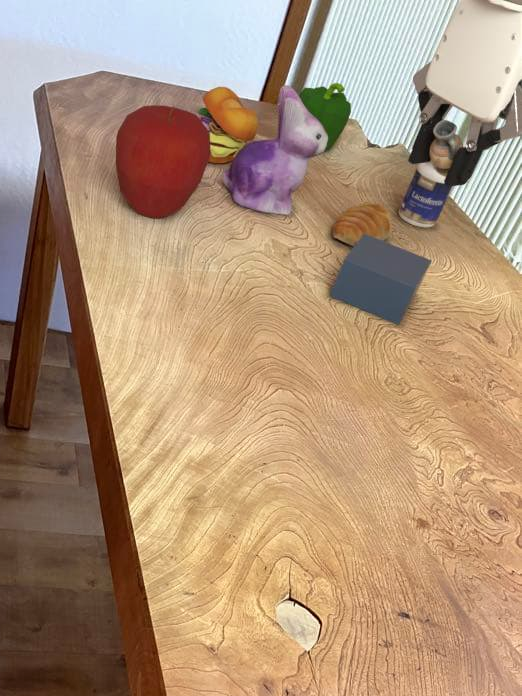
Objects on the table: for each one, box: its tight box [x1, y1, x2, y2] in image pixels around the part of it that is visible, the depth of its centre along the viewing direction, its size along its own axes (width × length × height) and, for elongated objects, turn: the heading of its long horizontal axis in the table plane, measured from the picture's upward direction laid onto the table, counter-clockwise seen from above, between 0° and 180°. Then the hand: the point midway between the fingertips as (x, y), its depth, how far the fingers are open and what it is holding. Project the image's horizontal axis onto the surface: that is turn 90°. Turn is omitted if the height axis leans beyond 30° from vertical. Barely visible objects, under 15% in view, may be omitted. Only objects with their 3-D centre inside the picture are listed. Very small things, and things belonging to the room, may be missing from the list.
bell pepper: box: [298, 82, 352, 152], centre depth 141 cm, size 8×8×10 cm
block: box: [329, 234, 433, 325], centre depth 110 cm, size 9×9×5 cm
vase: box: [430, 119, 470, 186], centre depth 96 cm, size 5×5×6 cm
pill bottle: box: [398, 161, 454, 229], centre depth 127 cm, size 6×6×10 cm
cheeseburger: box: [191, 86, 259, 164], centre depth 132 cm, size 10×11×10 cm
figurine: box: [221, 84, 328, 216], centre depth 120 cm, size 9×10×15 cm
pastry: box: [331, 201, 393, 247], centre depth 121 cm, size 9×7×4 cm
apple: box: [115, 104, 211, 219], centre depth 112 cm, size 12×12×13 cm
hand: (436, 171), depth 97 cm, fingers closed on vase, 4 cm apart
